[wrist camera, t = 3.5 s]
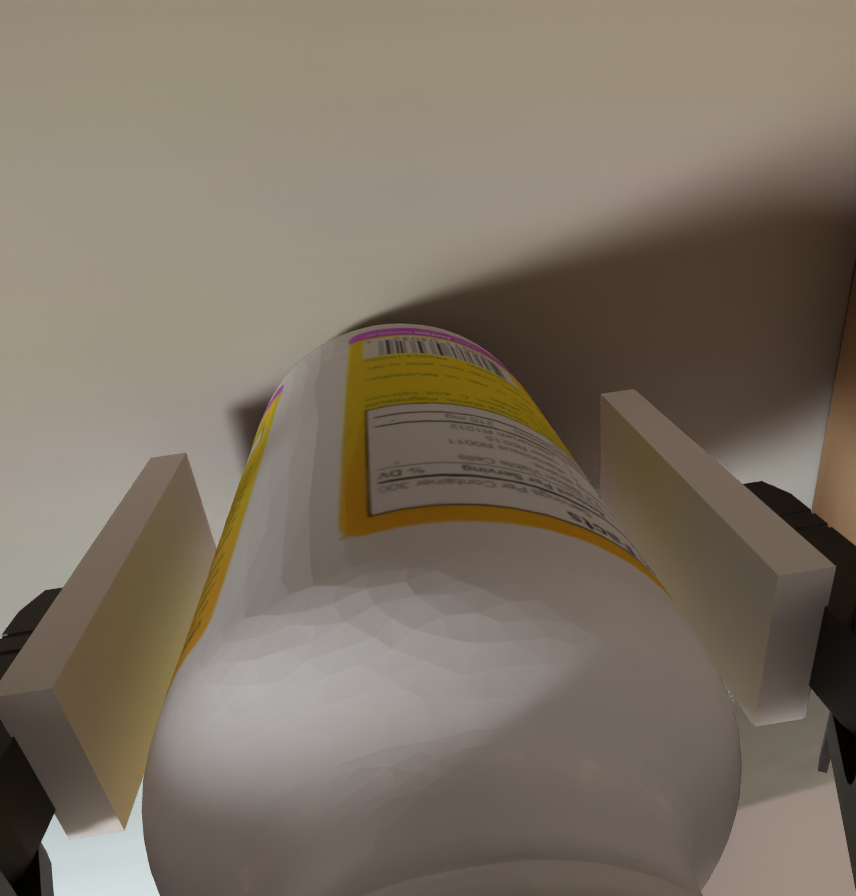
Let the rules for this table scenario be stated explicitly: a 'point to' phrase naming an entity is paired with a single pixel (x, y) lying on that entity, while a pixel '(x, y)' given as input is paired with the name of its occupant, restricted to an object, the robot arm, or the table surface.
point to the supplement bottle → (432, 659)
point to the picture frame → (841, 439)
